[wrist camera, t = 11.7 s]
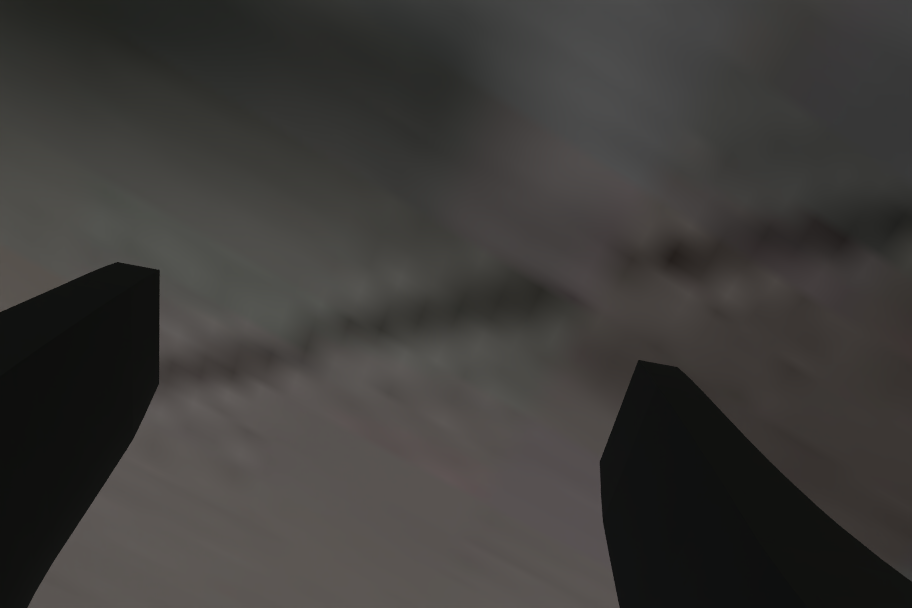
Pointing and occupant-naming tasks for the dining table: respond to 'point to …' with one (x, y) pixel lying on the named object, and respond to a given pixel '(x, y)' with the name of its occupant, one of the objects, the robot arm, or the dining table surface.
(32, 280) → the dining table surface
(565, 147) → the dining table surface
